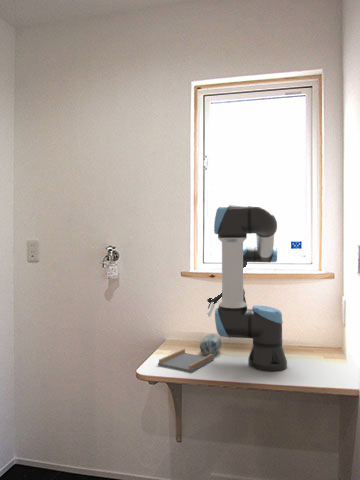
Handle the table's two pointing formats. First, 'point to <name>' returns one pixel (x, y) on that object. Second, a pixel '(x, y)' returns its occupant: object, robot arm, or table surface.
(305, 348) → the table surface
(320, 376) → the table surface
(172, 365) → the slot board
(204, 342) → the grey thick cylinder
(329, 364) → the table surface
